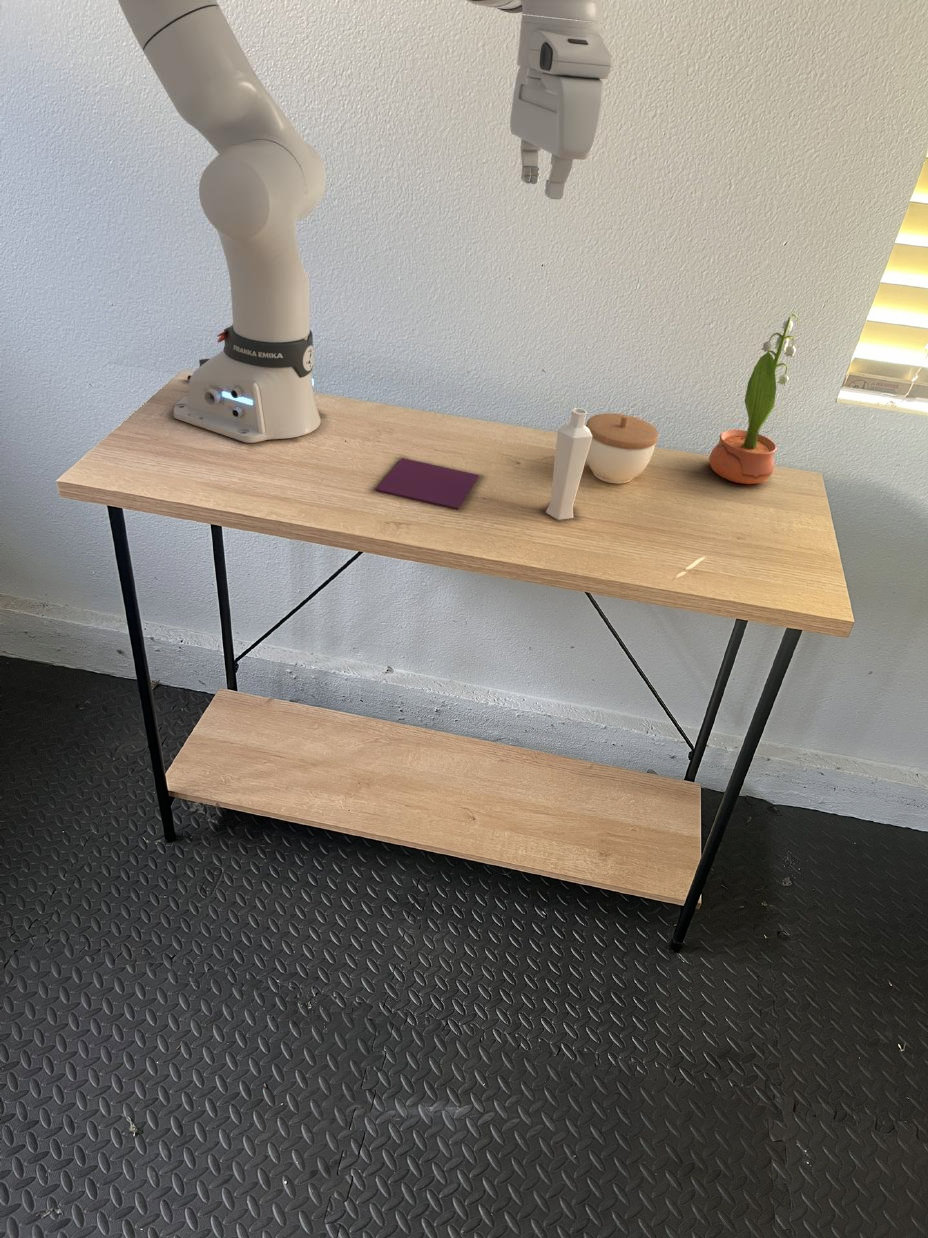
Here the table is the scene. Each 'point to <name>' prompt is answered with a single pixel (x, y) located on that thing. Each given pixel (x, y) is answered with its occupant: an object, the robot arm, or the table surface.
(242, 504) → the table surface
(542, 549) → the table surface
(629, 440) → the trinket box
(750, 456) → the potted flower
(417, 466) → the cloth
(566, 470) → the white faceted vase
